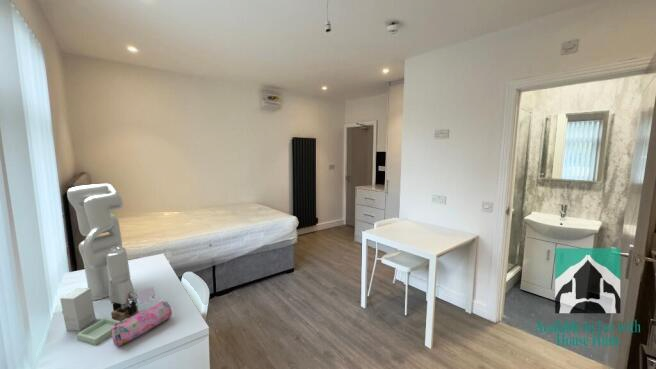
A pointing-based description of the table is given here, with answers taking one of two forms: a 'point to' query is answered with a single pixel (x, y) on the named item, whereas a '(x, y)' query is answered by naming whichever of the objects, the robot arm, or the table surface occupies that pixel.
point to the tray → (97, 331)
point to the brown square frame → (122, 314)
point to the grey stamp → (124, 307)
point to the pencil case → (140, 323)
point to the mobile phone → (146, 295)
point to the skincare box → (78, 309)
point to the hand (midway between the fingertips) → (125, 311)
